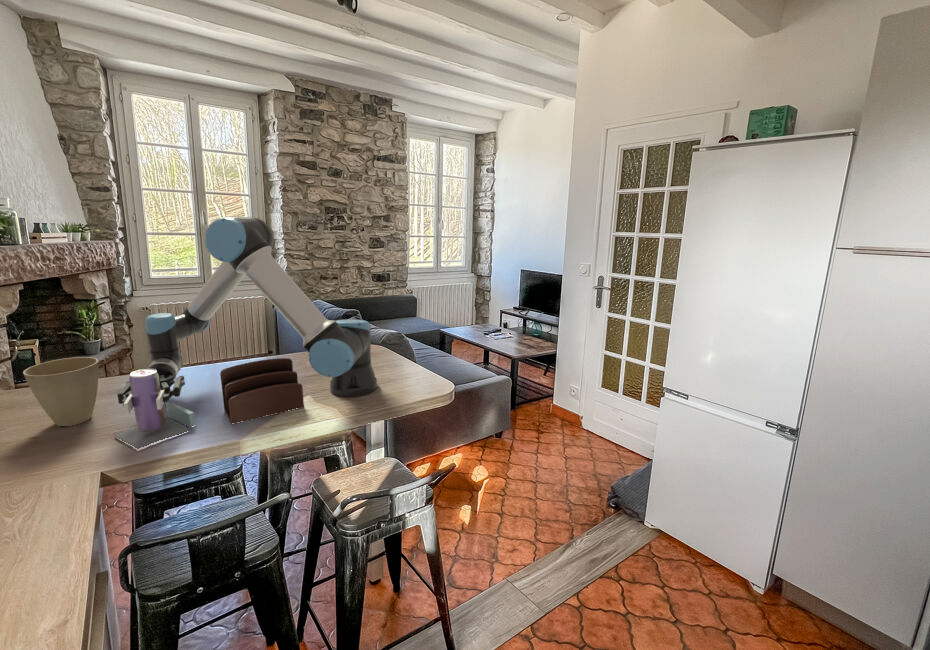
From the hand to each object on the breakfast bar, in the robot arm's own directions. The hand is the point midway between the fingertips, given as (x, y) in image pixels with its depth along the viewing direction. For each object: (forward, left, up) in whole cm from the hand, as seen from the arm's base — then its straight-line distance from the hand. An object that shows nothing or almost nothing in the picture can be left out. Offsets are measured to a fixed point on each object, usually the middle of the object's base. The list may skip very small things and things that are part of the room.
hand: (142, 406), depth 109 cm
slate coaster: (+4, -3, -10) cm, 11 cm away
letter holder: (-6, -28, -10) cm, 31 cm away
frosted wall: (+6, -11, -10) cm, 16 cm away
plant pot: (+30, +5, -10) cm, 32 cm away
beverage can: (+4, -3, -8) cm, 10 cm away
